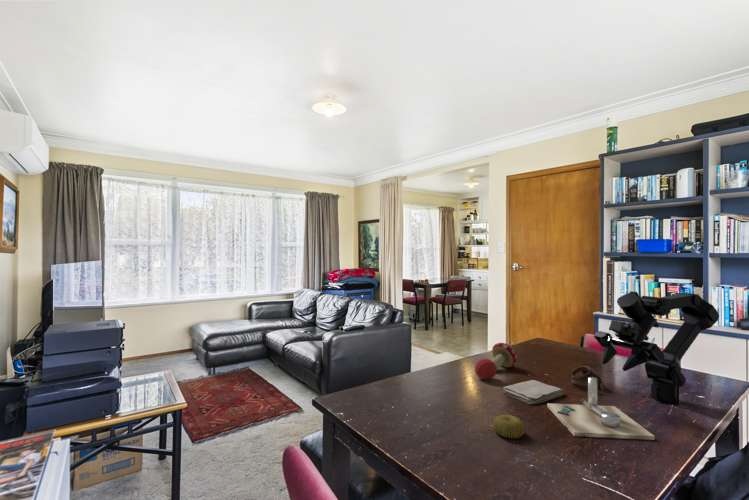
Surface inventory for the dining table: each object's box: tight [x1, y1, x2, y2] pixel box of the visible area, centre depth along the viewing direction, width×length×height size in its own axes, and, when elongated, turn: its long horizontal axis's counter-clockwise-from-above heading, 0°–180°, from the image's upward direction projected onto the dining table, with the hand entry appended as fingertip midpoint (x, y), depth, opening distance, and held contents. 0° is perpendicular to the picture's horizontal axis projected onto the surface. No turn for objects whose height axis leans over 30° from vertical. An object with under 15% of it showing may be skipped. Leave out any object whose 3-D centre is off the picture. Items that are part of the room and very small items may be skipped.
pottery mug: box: [569, 365, 604, 392], centre depth 131 cm, size 12×10×8 cm
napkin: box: [546, 403, 656, 441], centre depth 103 cm, size 20×18×1 cm
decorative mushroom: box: [490, 342, 518, 370], centre depth 149 cm, size 11×11×15 cm
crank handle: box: [583, 377, 620, 428], centre depth 104 cm, size 14×4×10 cm, turn 0°
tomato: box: [474, 358, 498, 381], centre depth 137 cm, size 8×8×8 cm
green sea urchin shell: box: [492, 414, 526, 440], centre depth 96 cm, size 8×4×8 cm
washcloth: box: [502, 379, 565, 405], centre depth 123 cm, size 12×18×3 cm, turn 121°
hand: (613, 366), depth 110 cm, fingers open, 6 cm apart
